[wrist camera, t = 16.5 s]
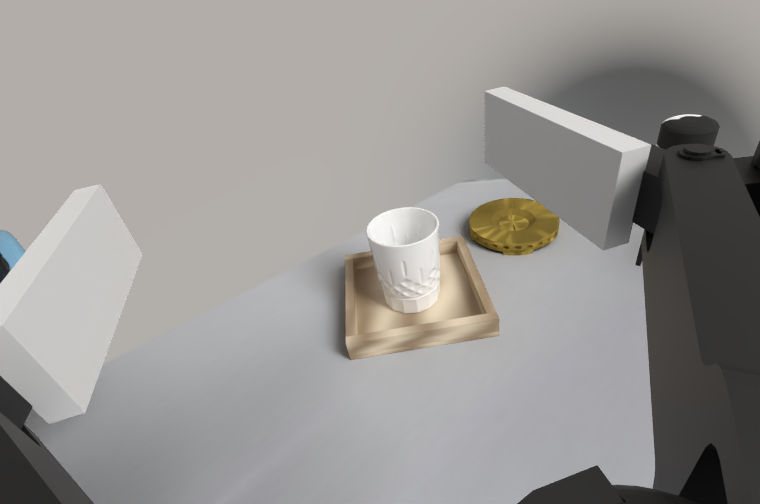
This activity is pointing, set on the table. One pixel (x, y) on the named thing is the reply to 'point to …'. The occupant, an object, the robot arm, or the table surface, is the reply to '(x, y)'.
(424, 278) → the white cup
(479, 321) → the tray
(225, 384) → the table surface
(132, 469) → the table surface
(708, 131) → the medicine bottle
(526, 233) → the gold notched disc
